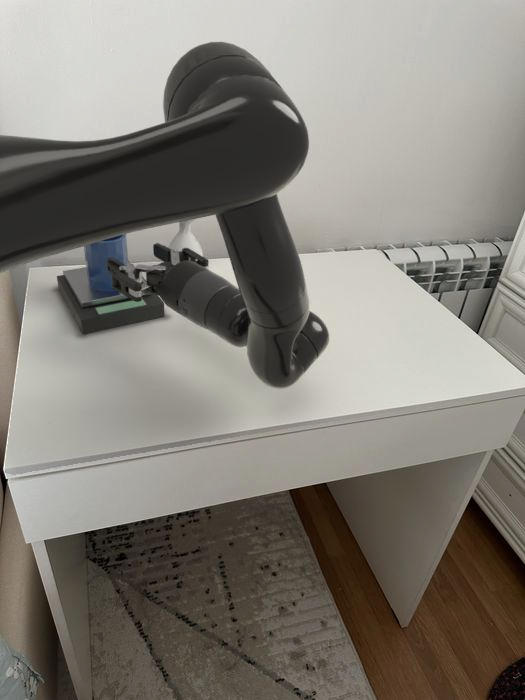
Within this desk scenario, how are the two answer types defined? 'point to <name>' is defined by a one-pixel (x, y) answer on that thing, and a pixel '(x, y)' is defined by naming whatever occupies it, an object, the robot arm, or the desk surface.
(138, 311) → the scale
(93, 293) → the scale pan
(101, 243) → the cup
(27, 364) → the desk surface
